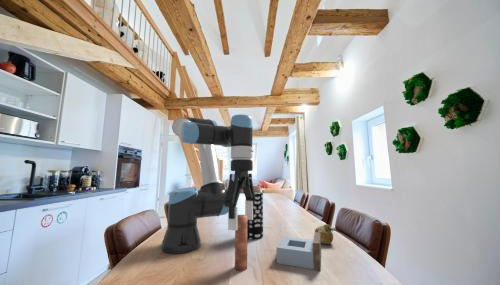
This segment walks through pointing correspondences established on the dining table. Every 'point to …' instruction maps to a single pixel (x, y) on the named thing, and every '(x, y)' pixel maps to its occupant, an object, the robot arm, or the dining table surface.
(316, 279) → the dining table surface
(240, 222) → the dowel
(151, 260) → the dining table surface
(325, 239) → the onion
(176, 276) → the dining table surface
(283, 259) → the socket block
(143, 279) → the dining table surface
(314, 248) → the walnut wall
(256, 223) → the white-spotted black cylinder
